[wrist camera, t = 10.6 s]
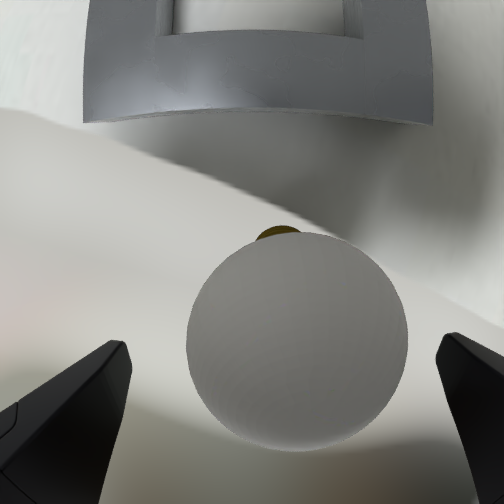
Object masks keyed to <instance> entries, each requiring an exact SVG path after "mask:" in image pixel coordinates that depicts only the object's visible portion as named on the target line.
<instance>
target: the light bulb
mask: <svg viewBox="0 0 504 504" xmlns="http://www.w3.org/2000/svg"><path fill="white" fill-rule="evenodd" d="M407 330H408V329H407V322H406V317H405V313H404V309H403V306H402V303H401V300H400V298H399V296H398V294H397V292H396V290H395V288H394V286H393V284H392V282H391V281H390V279H389V278H388V277H387V276H386V274H385V273H384V272H383V270H382V269H381V268H380V267H379V266H378V265H377V264H376V263H375V262H374V261H373V260H372V259H370V258H369V257H368V256H367V255H366V254H364V253H363V252H362V251H360V250H359V249H357V248H355V247H353V246H351V245H350V244H348V243H346V242H344V241H341V240H338V239H336V238H333V237H330V236H327V235H321V234H315V233H306V232H300V231H299V230H297V229H295V228H293V227H289V226H275V227H271V228H269V229H267V230H265V231H264V232H262V233H261V234H260V235H259V236H258V238H257V239H256V241H255V242H253V243H251V244H248V245H246V246H244V247H243V248H241V249H240V250H238V251H237V252H235V253H234V254H232V255H231V256H229V257H228V258H227V259H226V260H225V261H224V262H223V263H221V264H220V265H219V266H218V267H217V268H216V269H215V270H214V272H213V273H212V274H211V275H210V277H209V278H208V279H207V281H206V282H205V283H204V285H203V287H202V288H201V290H200V292H199V294H198V296H197V298H196V300H195V302H194V305H193V308H192V311H191V315H190V319H189V322H188V327H187V341H186V352H187V359H188V365H189V370H190V374H191V377H192V379H193V382H194V385H195V387H196V389H197V392H198V394H199V396H200V397H201V399H202V400H203V402H204V404H205V405H206V407H207V408H208V409H209V411H210V412H211V413H212V414H213V415H214V416H215V417H216V418H217V419H218V420H219V421H220V422H221V423H222V424H223V425H224V426H225V427H226V428H228V429H229V430H230V431H232V432H233V433H235V434H236V435H238V436H239V437H241V438H243V439H245V440H247V441H249V442H251V443H254V444H257V445H260V446H262V447H266V448H270V449H275V450H282V451H309V450H316V449H320V448H324V447H328V446H331V445H334V444H336V443H339V442H341V441H344V440H345V439H347V438H349V437H351V436H353V435H354V434H356V433H358V432H359V431H360V430H362V429H363V428H365V427H366V426H367V425H368V424H369V423H370V422H372V421H373V420H374V419H375V418H376V417H377V416H378V415H379V413H380V412H381V411H382V410H383V409H384V408H385V406H386V405H387V403H388V402H389V400H390V399H391V397H392V396H393V394H394V392H395V391H396V388H397V386H398V384H399V381H400V379H401V377H402V374H403V371H404V367H405V362H406V357H407V350H408V331H407Z"/></svg>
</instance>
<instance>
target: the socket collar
mask: <svg viewBox="0 0 504 504" xmlns="http://www.w3.org/2000/svg"><path fill="white" fill-rule="evenodd" d="M173 6H174V0H90V4H89V11H88V19H87V29H86V40H85V53H84V74H83V123H95V122H114V121H121V120H129V119H137V118H145V117H155V116H165V115H177V114H192V113H211V112H292V113H311V114H325V115H337V116H348V117H357V118H366V119H374V120H381V121H388V122H395V123H401V124H414V125H433V71H432V53H431V40H430V30H429V21H428V13H427V6H426V0H343V11H344V28H345V37H344V36H336V35H328V34H319V33H309V32H296V31H277V30H227V31H208V32H195V33H185V34H176V35H172V24H173Z"/></svg>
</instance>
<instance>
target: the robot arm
mask: <svg viewBox="0 0 504 504" xmlns="http://www.w3.org/2000/svg"><path fill="white" fill-rule="evenodd" d="M436 365H437V368H438V371H439V374H440V378H441V381H442V385H443V388H444V392H445V395H446V399H447V402H448V405H449V408H450V411H451V413H452V416H453V419H454V421H455V424H456V427H457V430H458V433H459V435H460V439H461V441H462V444H463V447H464V451H465V454H466V457H467V460H468V463H469V467H470V470H471V473H472V477H473V481H474V484H475V488H476V492H477V496H478V500H479V504H504V357H503V356H501V355H499V354H498V353H496V352H494V351H492V350H490V349H488V348H486V347H484V346H483V345H480V344H479V343H477V342H475V341H473V340H471V339H469V338H467V337H465V336H463V335H461V334H459V333H457V332H453V333H447V334H445V335H444V336H443V339H442V341H441V344H440V346H439V349H438V351H437V354H436ZM131 374H132V363H131V359H130V356H129V353H128V349H127V346H126V344H125V342H123V341H117V340H110V341H108V342H107V343H105V344H104V345H102V346H100V347H99V348H97V349H96V350H94V351H93V352H92V353H90V354H88V355H87V356H85V357H84V358H82V359H81V360H79V361H78V362H76V363H75V364H73V365H72V366H70V367H68V368H67V369H65V370H64V371H63V372H61V373H60V374H58V375H56V376H55V377H53V378H52V379H50V380H49V381H47V382H46V383H44V384H43V385H41V386H40V387H38V388H37V389H35V390H34V391H32V392H31V393H29V394H27V395H26V396H24V397H23V398H21V399H20V400H19V401H18V402H15V403H14V404H12V405H11V406H9V407H8V408H6V409H5V410H3V411H2V412H0V504H98V503H99V499H100V495H101V492H102V488H103V484H104V480H105V476H106V473H107V469H108V466H109V462H110V459H111V455H112V451H113V448H114V445H115V442H116V438H117V435H118V432H119V428H120V425H121V422H122V418H123V414H124V409H125V403H126V398H127V394H128V389H129V383H130V378H131Z"/></svg>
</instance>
